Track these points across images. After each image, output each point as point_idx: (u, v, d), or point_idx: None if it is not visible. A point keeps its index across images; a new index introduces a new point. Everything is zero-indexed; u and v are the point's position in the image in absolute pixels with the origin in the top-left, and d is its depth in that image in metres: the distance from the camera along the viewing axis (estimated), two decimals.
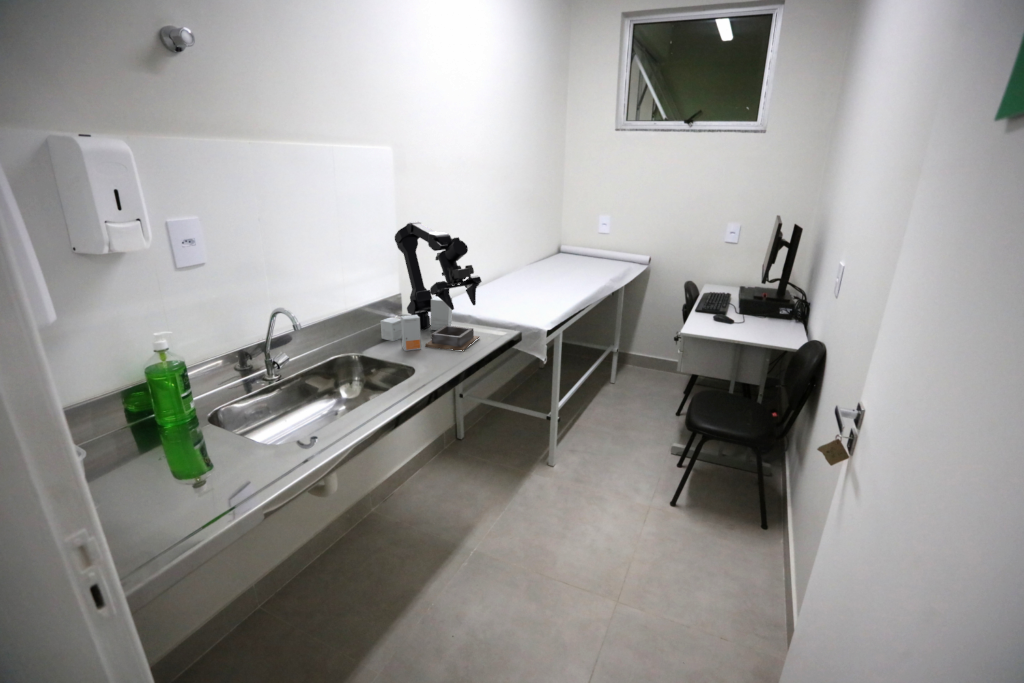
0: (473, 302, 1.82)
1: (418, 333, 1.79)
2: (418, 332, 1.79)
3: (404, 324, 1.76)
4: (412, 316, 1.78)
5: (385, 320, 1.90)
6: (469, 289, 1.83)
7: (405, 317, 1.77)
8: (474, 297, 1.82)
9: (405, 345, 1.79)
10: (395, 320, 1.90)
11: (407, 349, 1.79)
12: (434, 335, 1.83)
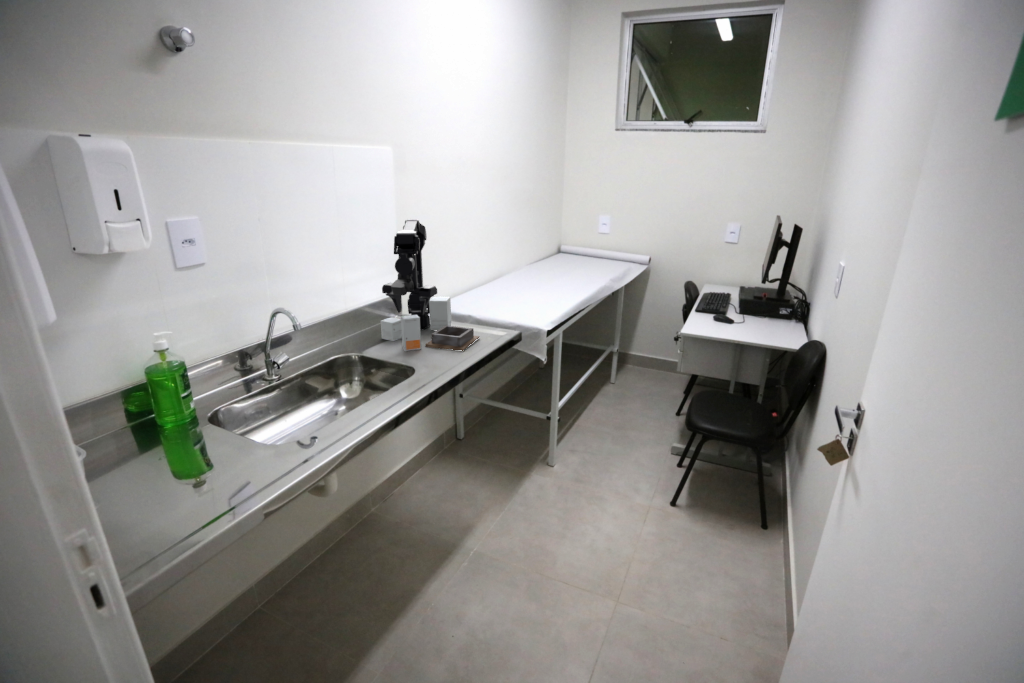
0: None
1: (418, 333, 1.79)
2: (418, 332, 1.79)
3: (404, 324, 1.76)
4: (412, 316, 1.78)
5: (385, 320, 1.90)
6: None
7: (405, 317, 1.77)
8: (421, 308, 1.74)
9: (405, 345, 1.79)
10: (395, 320, 1.90)
11: (407, 349, 1.79)
12: (434, 335, 1.83)
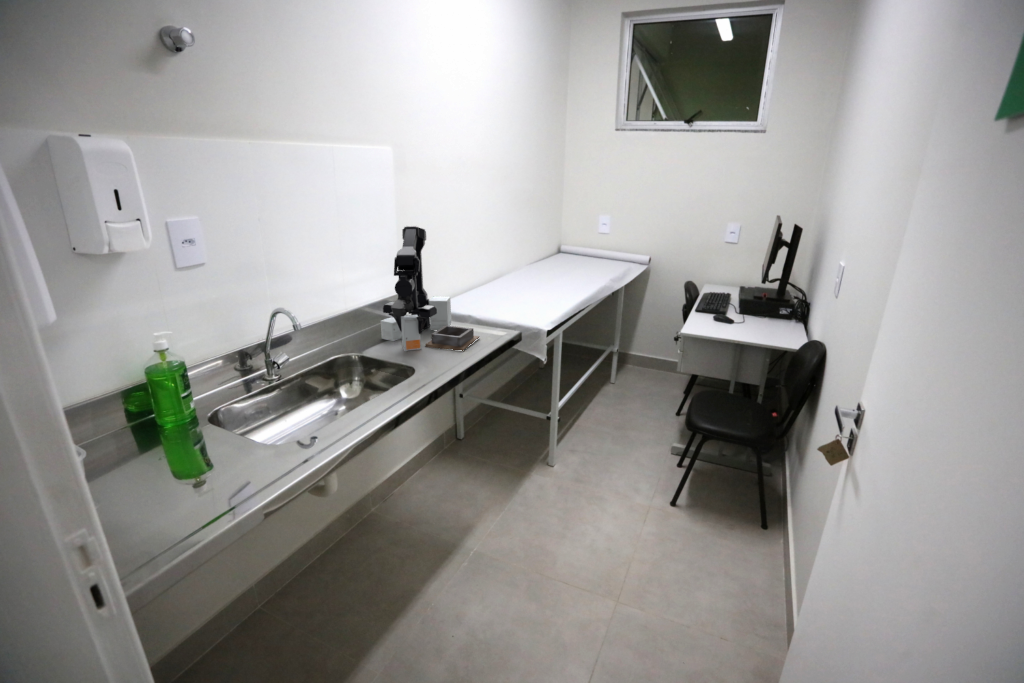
0: None
1: (418, 333, 1.79)
2: (418, 332, 1.79)
3: (404, 324, 1.76)
4: (412, 316, 1.78)
5: (385, 320, 1.90)
6: None
7: (405, 317, 1.77)
8: (419, 327, 1.77)
9: (405, 345, 1.79)
10: (395, 320, 1.90)
11: (407, 349, 1.79)
12: (434, 335, 1.83)
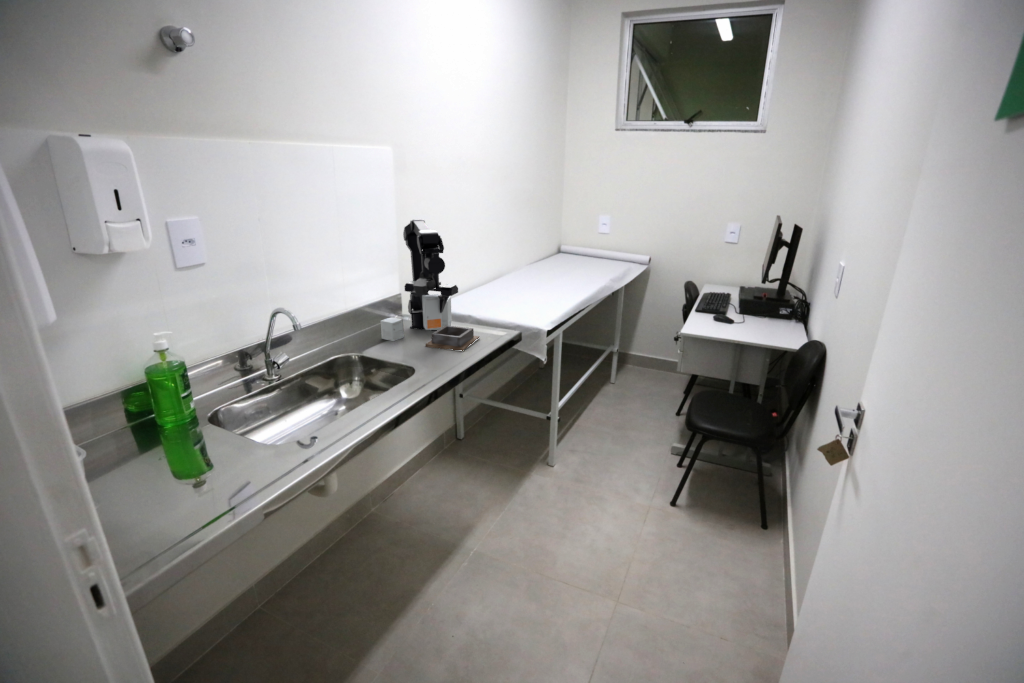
0: None
1: (439, 312, 1.80)
2: (439, 311, 1.80)
3: (425, 303, 1.77)
4: (433, 295, 1.79)
5: (385, 320, 1.90)
6: None
7: (426, 296, 1.78)
8: (440, 306, 1.78)
9: (426, 324, 1.80)
10: (395, 320, 1.90)
11: (428, 328, 1.80)
12: (434, 335, 1.83)
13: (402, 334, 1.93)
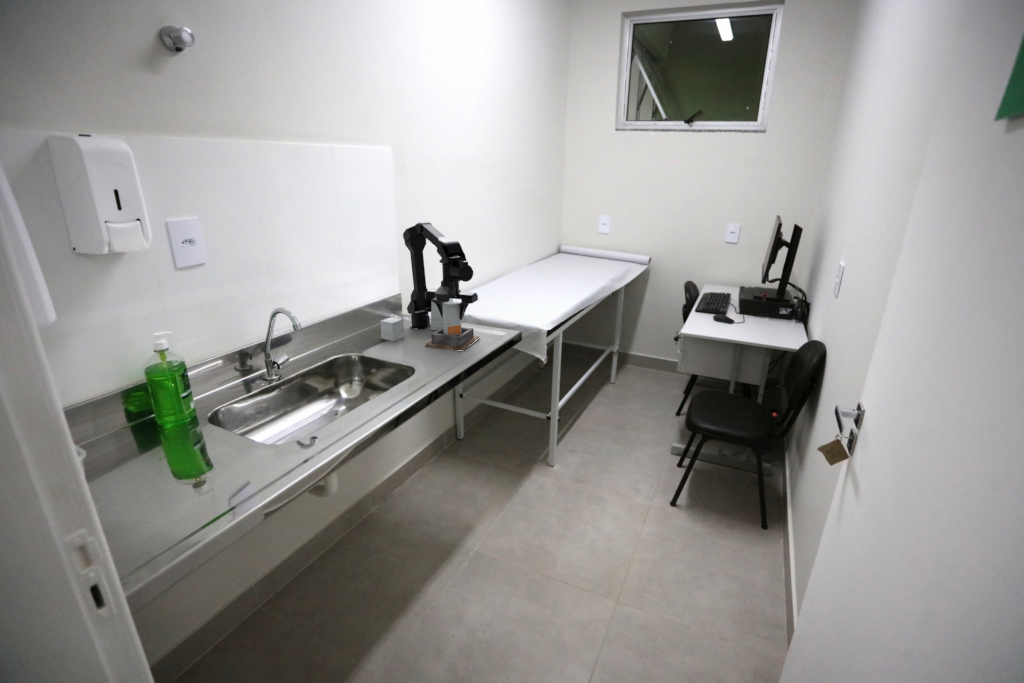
0: None
1: (459, 319, 1.84)
2: (459, 318, 1.84)
3: (446, 310, 1.81)
4: (453, 302, 1.84)
5: (385, 320, 1.90)
6: None
7: (447, 304, 1.82)
8: (460, 313, 1.82)
9: (447, 331, 1.84)
10: (395, 320, 1.90)
11: None
12: (434, 335, 1.83)
13: (402, 334, 1.93)
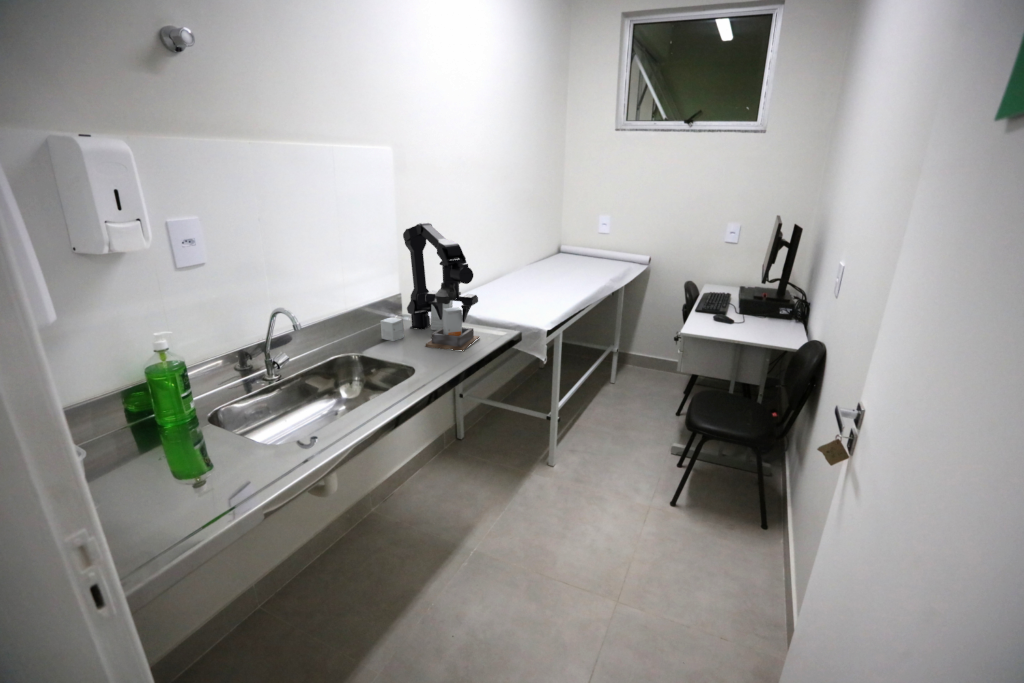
0: None
1: (460, 325, 1.85)
2: (460, 324, 1.85)
3: (447, 316, 1.82)
4: (454, 308, 1.84)
5: (385, 320, 1.90)
6: None
7: (448, 310, 1.83)
8: (463, 316, 1.82)
9: None
10: (395, 320, 1.90)
11: None
12: (434, 335, 1.83)
13: (402, 334, 1.93)
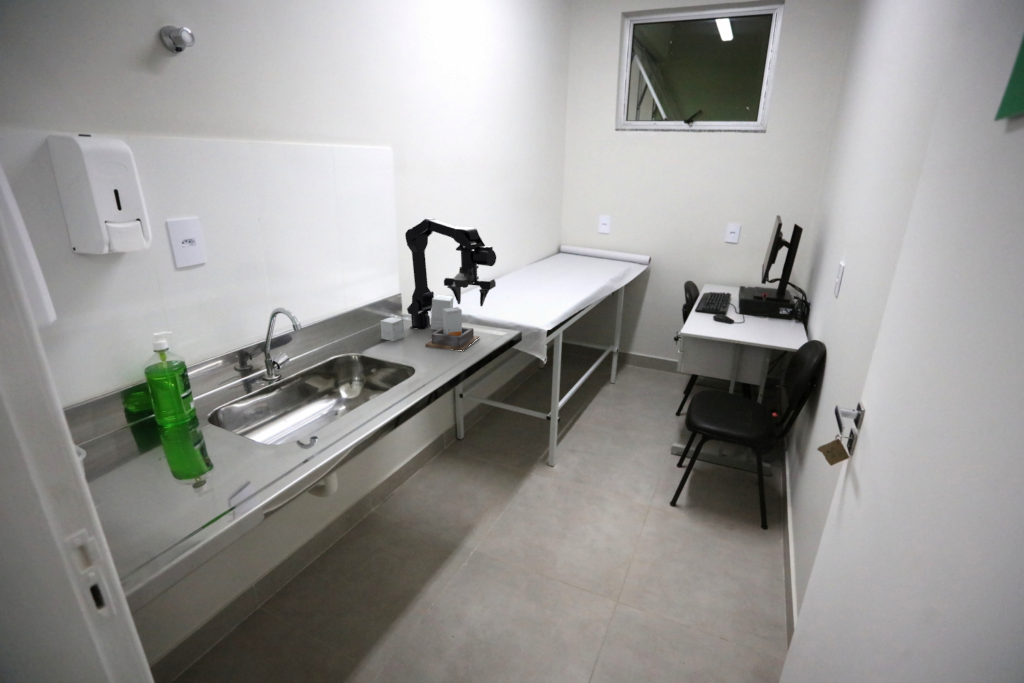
0: None
1: (460, 325, 1.85)
2: (460, 324, 1.85)
3: (447, 316, 1.82)
4: (454, 308, 1.84)
5: (385, 320, 1.90)
6: None
7: (447, 310, 1.83)
8: (481, 300, 1.85)
9: None
10: (395, 320, 1.90)
11: None
12: (434, 335, 1.83)
13: (402, 334, 1.93)
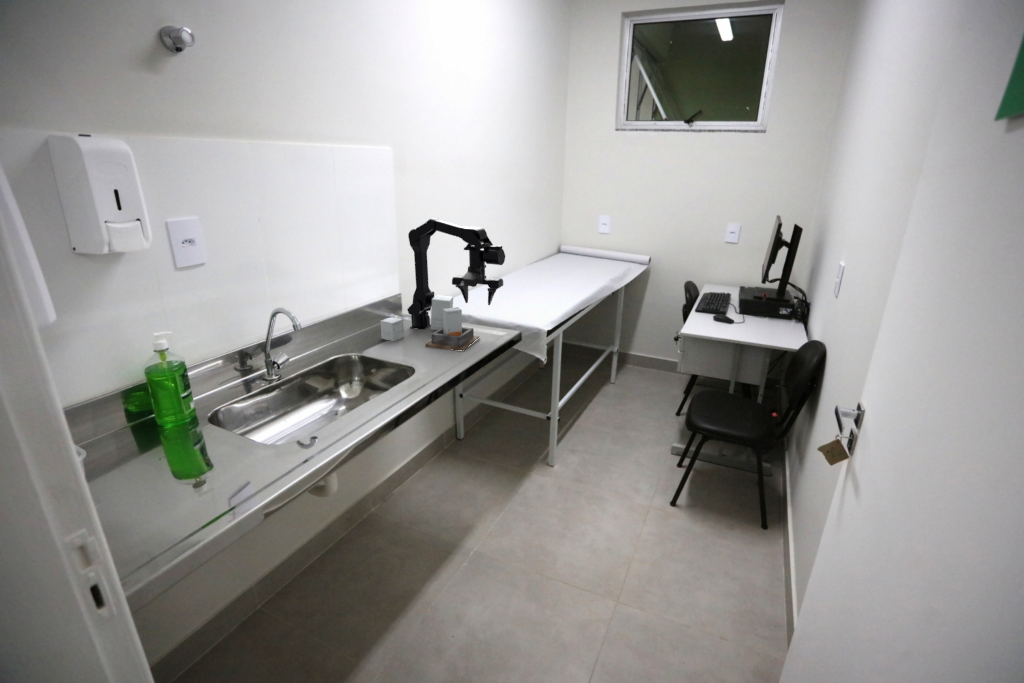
0: None
1: (460, 325, 1.85)
2: (460, 324, 1.85)
3: (447, 316, 1.82)
4: (454, 308, 1.84)
5: (385, 320, 1.90)
6: None
7: (447, 310, 1.83)
8: (489, 299, 1.88)
9: None
10: (395, 320, 1.90)
11: None
12: (434, 335, 1.83)
13: (402, 334, 1.93)
